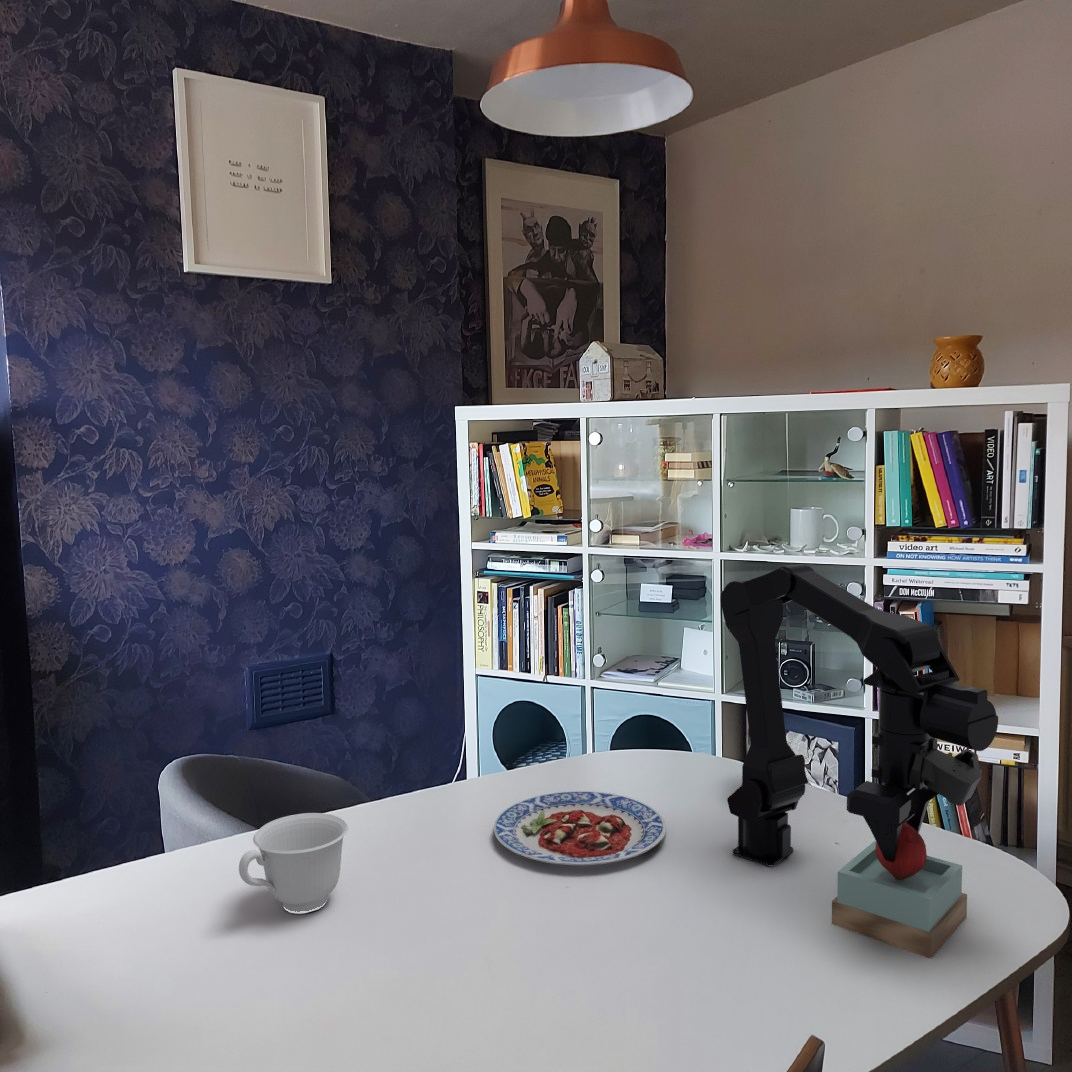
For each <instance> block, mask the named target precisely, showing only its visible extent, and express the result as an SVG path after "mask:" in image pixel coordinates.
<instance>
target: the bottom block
mask: <svg viewBox="0 0 1072 1072" xmlns="http://www.w3.org/2000/svg"><path fill="white" fill-rule="evenodd" d="M967 911H968V893H967V894H966V893H964V892H962V893H961V897H960V898H959V899H958V900H957V901H956V903H955V904H954V905H953V906H952V907H951V908H950V909H949V910H948V911H947V913H946V914H945V915H944V916H943V917H942V918H941V919H940V920H939V922H938V923H937V924H936V925H935V926H934V927H933V928H932V929H931V931H930V932H927V931H924V930H920V929H917V928H914V927H911V926H908V925H905V924H902V923H899V922H896V921H893V920H890V919H887V918H884V917H881V916H877V915H874V914H871V913H868V912H865V911H862V910H859V909H856V908H853V907H850V906H847V905H844V904H841V903H838V902H837V896H836V897H835V898H833V899H832V900H831V925H834V926H837V927H839V928H842V929H844V930H848V931H850V932H854V933H856V934H860V935H862V936H864V937H867V938H870V939H873V940H877V941H879V942H882V943H885V944H887V945H890V946H893V947H896V948H899V949H902V950H905V951H907V952H911V953H912V954H915V955H919V956H921V957H925V958H928V959H930V960H931V959H932V958H933V957H934V956H935V955H936V954H937V953H938V951H939V950H940V949H941V947H942V946H943V945H944V944H945V943H946V942H947V940H949V938H950V937H951V936H952V935H953V934H954V933H955V931H957V929H958V928H959V927H960V925H961V924H962V923H963V922H964V921H965V920H966V918H967Z"/></svg>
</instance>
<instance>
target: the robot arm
mask: <svg viewBox="0 0 1072 1072" xmlns="http://www.w3.org/2000/svg"><path fill="white" fill-rule="evenodd" d="M792 601H793V602H794V603H796V604H797V605H799V606H800V607H802V608H804V609H806V610H807V611H809V612H811V613H812V614H813V615H815V616H817V617H818V618H820V619H821V620H822V621H824V622H826V624H829V625H830V626H832V627H833V628H835V629H837V630H838V631H840V632H841V633H843V634H845V635H846V636H847V637H849V638H850V639H851V640H853V642H855V643H856V644H857V646H858V648H859V651H860V653H861V654H862V656H863V657H864V658H865V659H866V660H867V661H869V662H870V663H871V664H872V665H873V666H874V667H875V670H874V671H873V672H872V673H871V674H870V675H868V676H866V677H865V678H863V683H864V685H867V686H870V687H874V688H877V689H879V691H878V694H879V697H878V698H879V699H878V732H876V733H875V734H873V735H872V737H871V744H872V745H875V746H877V764H876V765H875V766H873V767H872V768H871V775H870V776H871V777H872V778H876V779H879V780H881V783H877V782H874V781H873V782H872V781H869V780H866V781H864V782H863V783H861V784H860V785H859V786H857V787H856V788H855V789H853V790H852V791H850V792H848V794H846V811H847V812H848V813H850V814H853V815H856V816H860V817H863V819H864V820H865V823H866V824H867V826H868V828H869V829H870V832H871V834H872V835H873V837H874V840H875V841H876V842H877V844H878V846H879V848H880V850H881V852H882V855H883V857H884V859H885V860H887V861H890V862H894V861H895V858H896V854H897V849H898V844H899V838H900V833H901V827H902V824H903V823H905V822H907V823H908V824H909V825H910V826H912V827H913V828H914V829H915V830H916V831H917V832H918V833H919V834H920V830H921V827H922V825H923V822H924V818H925V815H926V812H927V809H928V806H929V804H930V801H931V800H932V799H934V798H935V797H937V796H939V795H940V796H941V797H943V798H945V799H946V800H947V801H948V802H949V803H950V804H952V805H955V806H959V807H960V806H961V807H962V806H963V805H964V804H965V803H966V802H967V801H968V800H970V799H971V798H972V796H973V794H974V792H975V790H976V788H977V785H978V784H979V782H980V781H981V780H982V778H983V776H982V772H983V770H982V769H981V768H980V765H979V754H977V753H976V752H983V751H985V750H986V749H988V748H989V746H990V745H991V744H992V743H993V741H994V740H995V737H996V735H997V732H998V728H999V727H998V726H999V716H998V715H997V711H996V708H995V706H994V704H993V703H992V702H991V701H989V700H988V693H989V692H988V690H987V689H985V688H982V687H981V688H980V687H974V686H971V687H970V686H965V685H961V684H958V683H959V682H960V679H961V678H960V677H959V675H958V674H957V671H956V670H955V668H954V666H953V665H952V663H951V661H950V659H949V657H948V656H947V655H946V653H945V651H944V649H943V647H942V646H941V642H940V640H939V637H938V636H939V634H938V632H937V631H936V630H935V628H934V627H932V626H931V625H929V623H928V624H927V623H926V622H923V621H920V620H918V619H915V618H913V617H909V616H906V615H904V614H903V615H902V614H899V613H892V612H888V611H884V610H882V609H880V608H879V609H878V608H876V607H875V606H873V605H872V604H869V603H868V602H866V601H864V600H863V599H861V598H859V597H858V596H856V595H854V594H853V593H851V592H849V591H848V590H846V589H844V588H842V587H841V586H839V585H837V584H836V583H835V582H833V581H830V579H827V578H826V577H824V576H822V575H821V574H819V573H817V572H815V570H814V569H813V568H812V566H810V565H807V564H805V563H798V564H790V565H782V566H779V567H778V568H776V569H775V570H774V569H773V571H770V572H768V573H766V574H763V575H760V576H757V577H753V578H747V579H741V580H734V581H729V583H727V584H726V585H725V587H724V588H723V590H722V591H721V592H720V605H721V606H720V607H721V610H722V613H723V614H722V615H723V618H724V619H723V620H724V622H725V625H726V628H727V629H728V631H729V632H730V634H731V635H732V636H733V638H734V639H735V640H736V642H737V644H738V647H739V648H738V649H739V655H740V664H741V665H740V666H741V672H742V673H741V674H742V675H741V676H742V680H743V690H744V699H745V700H744V701H745V708H746V712H747V718H748V726H749V735H750V748H749V750H748V753H747V752H746V755H745V758H744V761H743V764H742V765H741V767H742V768H741V769H742V771H741V772H742V773H741V774H742V776H741V777H742V778H741V780H742V781H741V786H739V788H737V789H736V790H735V791H734V792H733V793H732V794H731V795H729V796H728V797H727V798H726V799H727V800H726V801H727V804H728V805H727V806H728V809H729V813H730V814H731V815H734V816H736V817H737V832H738V833H737V838H738V839H737V846H736V847H734V848H733V849H732V851H731V852H732V854H733V855H735V856H738V857H741V858H744V859H748V860H751V861H753V862H757V863H760V864H763V865H765V866H766V865H767V866H770V867H774V866H775V865H777V864H778V863H780V862H781V861H782V860H783V859H785V858H786V857H787V856H789V855H790V854H792V853H793V852H794V847H793V846H792V842H791V841H792V832H791V831H792V826H791V825H790V824H789V813H788V812H789V811H795V810H796V809H797V806H798V803H799V801H800V800H801V799H802V797H803V796H804V795H805V792H806V784H809V780H808V778H807V775H806V774H807V773H806V760H805V757H804V755H803V754H796V753H795V751H794V750H793V748H792V747H791V746H790V744H788V741H787V740H788V739H787V734H786V725H785V716H784V709H783V700H782V699H783V698H782V691H781V684H780V682H781V681H780V675H779V674H780V673H779V665H778V659H777V658H778V657H777V648H776V639H777V635H778V633H779V631H780V628H781V625H782V623H783V620H784V605H785V604H787V603H791V602H792ZM927 669H929V670H930V671H929V672H926V673H922V674H917V675H915V674H914V673H915V672H920V671H923V670H927ZM938 740H939V741H943V742H946V743H949V744H952V745H956V746H960V747H962V748H965V749H963V750H962V751H960V752H958V753H957V754H956V755H953V752H948V753H945V752H943V751H941V750H939V748H938ZM975 751H976V752H975Z"/></svg>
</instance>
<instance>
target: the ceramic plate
mask: <svg viewBox="0 0 1072 1072" xmlns="http://www.w3.org/2000/svg"><path fill="white" fill-rule="evenodd" d="M493 832H494V836H495V838H496V839H497V841H498V842H499V843H500V844H501V845H502V846H503V847H505V848H506V849H508V850H509V851H511V852H512V853H514V854H516V855H519V856H521V857H525V858H527V859H529V860H533V861H539V862H542V863H547V864H555V865H563V866H564V865H565V866H594V865H602V864H603V865H604V864H611V863H617V862H622V861H625V860H628V859H631V858H634V857H637V856H640V855H642V854H644V853H647V852H648V851H650V850H652V849H653V848H654V847H656V846H657V845H658V844H660V842H661V841H662V839H663V838H664V836H665V834H666V832H667V824H666V820H665V818H664V817H663V815H661V813H659V812H658V811H657V810H656V809H655V808H654V807H652V806H651V805H648V803H647V804H646V803H645V802H643V801H640V800H639V799H635V798H632V797H629V796H625V795H620V794H616V793H610V792H603V791H589V790H573V791H572V790H571V791H559V792H551V793H545V794H540V795H535V796H532V797H528V798H526V799H523V800H521V801H519V802H516V803H514V804H512V805H510V806H509V807H507V808H506V809H504V810H503V811H501V813H499V815H498V816H497V818H496V819H495V821H494V824H493Z"/></svg>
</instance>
